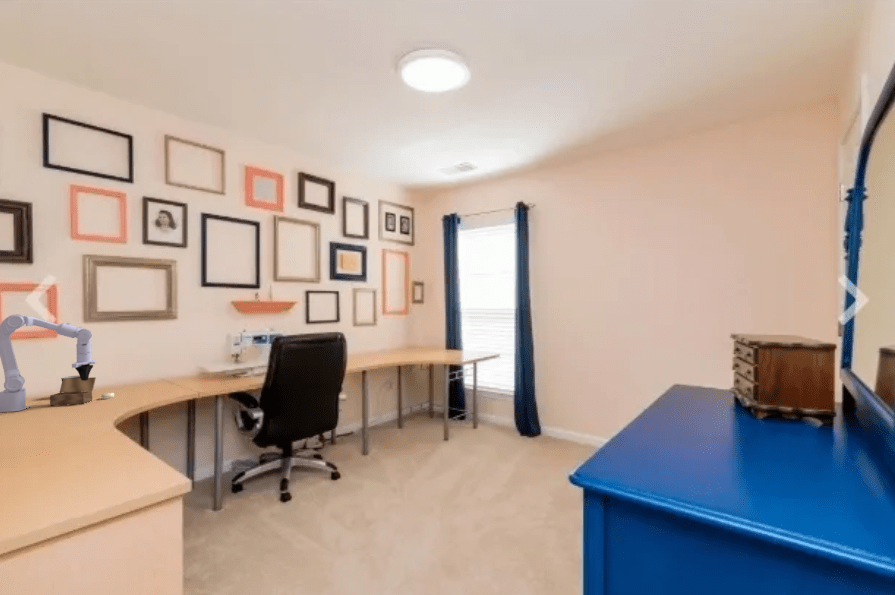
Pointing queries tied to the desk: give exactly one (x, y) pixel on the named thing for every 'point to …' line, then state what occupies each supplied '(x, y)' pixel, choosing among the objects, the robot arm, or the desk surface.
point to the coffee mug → (70, 377)
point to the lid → (77, 385)
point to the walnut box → (71, 398)
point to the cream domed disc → (107, 396)
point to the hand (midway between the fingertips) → (84, 380)
